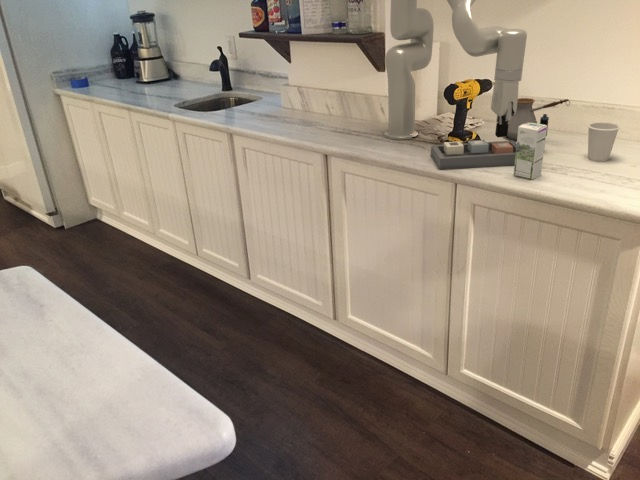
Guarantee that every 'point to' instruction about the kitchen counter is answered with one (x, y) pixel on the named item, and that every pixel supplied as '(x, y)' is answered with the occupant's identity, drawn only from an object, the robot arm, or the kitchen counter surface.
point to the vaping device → (544, 121)
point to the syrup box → (530, 150)
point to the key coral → (501, 148)
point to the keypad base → (472, 157)
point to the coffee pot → (526, 115)
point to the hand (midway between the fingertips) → (501, 136)
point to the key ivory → (453, 148)
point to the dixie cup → (601, 140)
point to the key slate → (478, 146)
